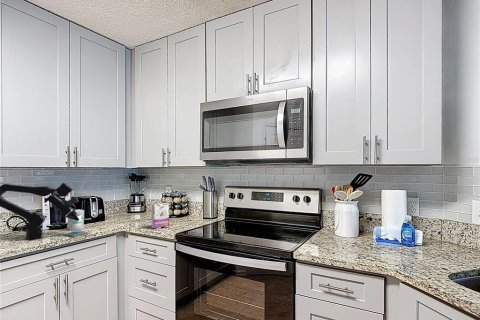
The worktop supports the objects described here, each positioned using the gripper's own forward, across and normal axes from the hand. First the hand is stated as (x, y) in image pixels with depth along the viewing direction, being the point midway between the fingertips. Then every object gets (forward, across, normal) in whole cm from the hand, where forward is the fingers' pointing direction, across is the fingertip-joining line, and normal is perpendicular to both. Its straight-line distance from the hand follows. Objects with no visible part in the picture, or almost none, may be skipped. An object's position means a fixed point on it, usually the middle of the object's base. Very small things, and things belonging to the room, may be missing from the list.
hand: (79, 219), depth 168 cm
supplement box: (+4, +20, +9) cm, 22 cm away
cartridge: (+4, 0, +6) cm, 7 cm away
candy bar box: (+41, 0, -28) cm, 50 cm away
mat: (+6, 0, +8) cm, 9 cm away
